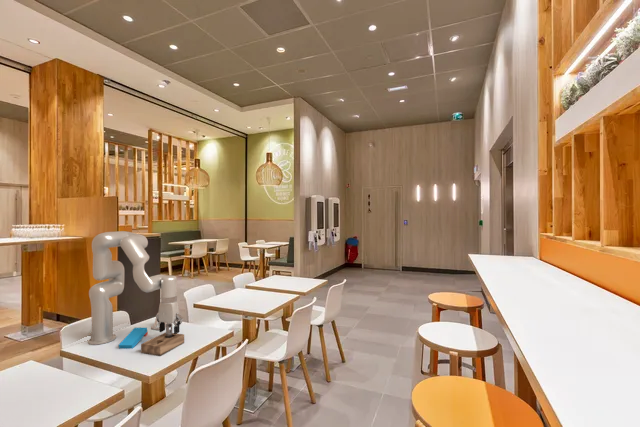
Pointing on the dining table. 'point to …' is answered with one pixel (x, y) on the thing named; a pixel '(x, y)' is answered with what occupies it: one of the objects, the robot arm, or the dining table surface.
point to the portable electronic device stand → (156, 325)
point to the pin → (169, 330)
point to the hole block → (162, 344)
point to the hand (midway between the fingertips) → (169, 332)
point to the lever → (133, 338)
